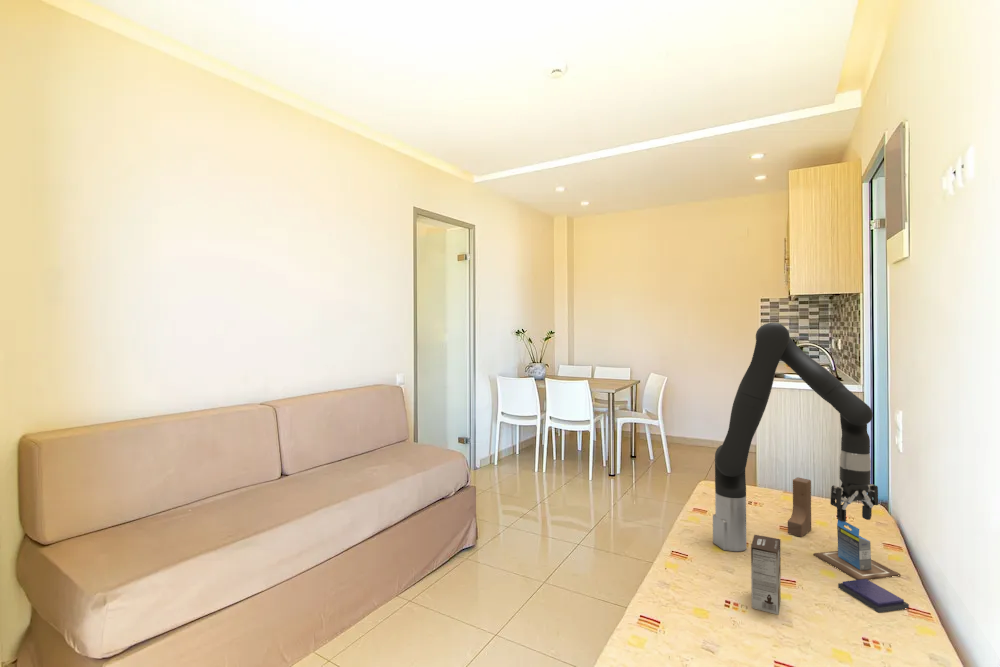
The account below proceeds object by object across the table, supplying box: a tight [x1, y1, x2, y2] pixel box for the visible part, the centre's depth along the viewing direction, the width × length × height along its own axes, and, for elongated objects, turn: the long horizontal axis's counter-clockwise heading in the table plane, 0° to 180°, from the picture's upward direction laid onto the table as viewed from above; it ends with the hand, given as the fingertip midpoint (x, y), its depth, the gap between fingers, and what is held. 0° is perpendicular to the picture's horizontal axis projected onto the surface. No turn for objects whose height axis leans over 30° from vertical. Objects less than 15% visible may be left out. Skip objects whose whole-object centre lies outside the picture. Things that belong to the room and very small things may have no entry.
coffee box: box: [750, 534, 782, 616], centre depth 128 cm, size 9×6×16 cm
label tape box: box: [836, 519, 872, 570], centre depth 147 cm, size 9×4×12 cm, turn 4°
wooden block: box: [787, 476, 812, 538], centre depth 171 cm, size 9×4×18 cm, turn 128°
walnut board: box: [813, 550, 901, 581], centre depth 147 cm, size 14×16×1 cm
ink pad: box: [837, 579, 910, 614], centre depth 130 cm, size 9×12×2 cm
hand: (854, 519), depth 147 cm, fingers open, 8 cm apart
